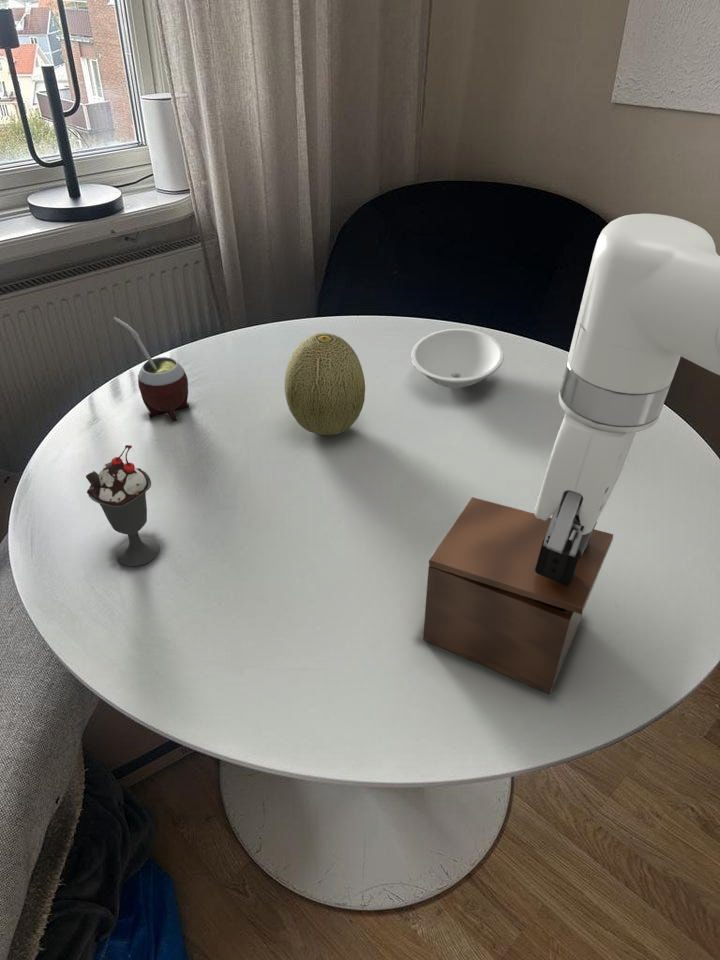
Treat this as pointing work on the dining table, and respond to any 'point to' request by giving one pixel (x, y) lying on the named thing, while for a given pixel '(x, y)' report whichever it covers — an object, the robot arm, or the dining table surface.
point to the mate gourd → (161, 383)
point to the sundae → (125, 507)
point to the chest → (498, 628)
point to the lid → (516, 554)
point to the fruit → (324, 384)
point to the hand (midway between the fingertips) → (562, 555)
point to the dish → (457, 356)
